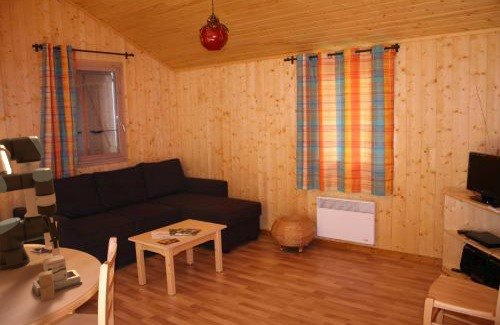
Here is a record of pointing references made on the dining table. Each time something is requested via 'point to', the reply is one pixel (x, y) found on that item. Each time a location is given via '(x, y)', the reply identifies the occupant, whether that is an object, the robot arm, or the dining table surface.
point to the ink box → (56, 267)
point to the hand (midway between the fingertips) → (52, 250)
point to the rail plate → (60, 282)
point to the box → (46, 285)
